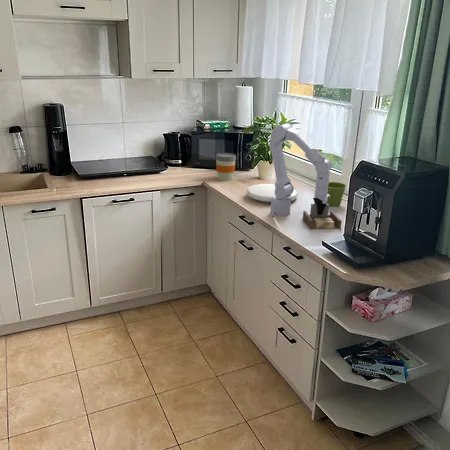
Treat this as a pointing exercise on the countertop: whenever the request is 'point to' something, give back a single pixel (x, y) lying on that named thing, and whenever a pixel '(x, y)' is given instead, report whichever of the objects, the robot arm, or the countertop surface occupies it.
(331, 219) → the birch offcut
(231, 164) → the reusable coffee cup
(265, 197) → the plate
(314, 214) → the gray block
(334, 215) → the walnut rack
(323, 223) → the birch offcut
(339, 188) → the plant pot
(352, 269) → the countertop surface
